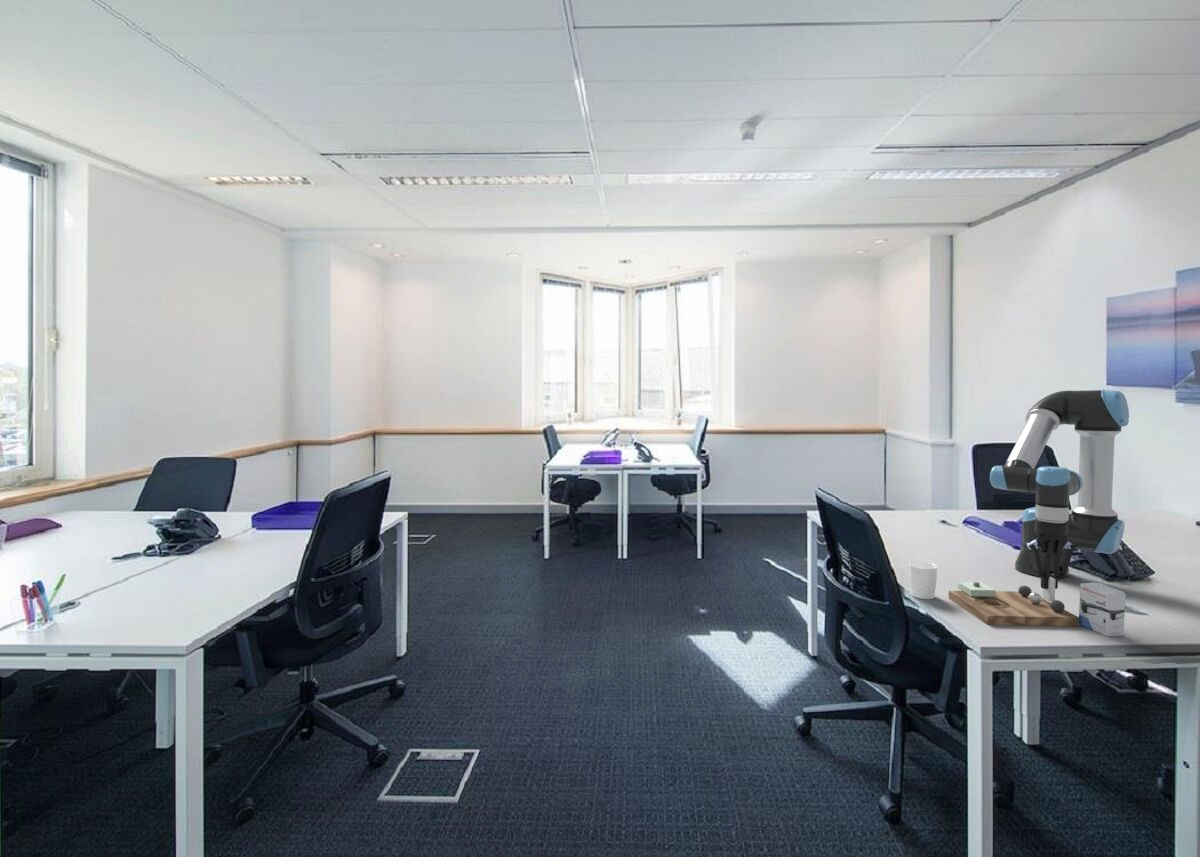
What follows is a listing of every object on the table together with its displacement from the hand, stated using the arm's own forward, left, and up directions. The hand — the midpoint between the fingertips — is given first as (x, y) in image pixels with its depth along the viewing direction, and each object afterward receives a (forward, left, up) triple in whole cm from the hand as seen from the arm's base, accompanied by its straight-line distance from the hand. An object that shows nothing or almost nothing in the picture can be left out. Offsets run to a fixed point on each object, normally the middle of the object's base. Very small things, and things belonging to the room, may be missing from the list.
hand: (1048, 599), depth 163 cm
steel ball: (+4, 0, 0) cm, 4 cm away
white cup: (+30, -12, -4) cm, 32 cm away
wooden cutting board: (+11, 0, -4) cm, 11 cm away
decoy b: (+2, +6, 0) cm, 6 cm away
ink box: (-5, +12, -4) cm, 14 cm away
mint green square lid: (+16, -8, -1) cm, 18 cm away
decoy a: (+3, -6, 0) cm, 7 cm away
